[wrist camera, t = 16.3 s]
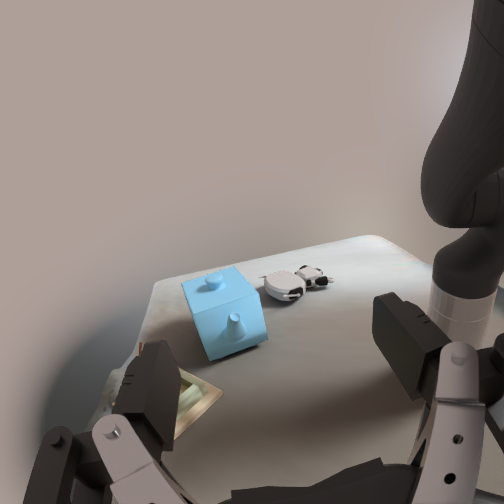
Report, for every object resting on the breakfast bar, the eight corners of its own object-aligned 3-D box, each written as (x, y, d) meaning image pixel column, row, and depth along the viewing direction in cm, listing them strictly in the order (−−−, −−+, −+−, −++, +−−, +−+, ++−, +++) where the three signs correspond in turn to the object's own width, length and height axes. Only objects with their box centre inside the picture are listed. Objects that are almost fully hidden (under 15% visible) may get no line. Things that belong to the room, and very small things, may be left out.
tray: (169, 364, 50) (163, 351, 49) (223, 393, 42) (217, 379, 41) (114, 407, 40) (105, 394, 39) (161, 451, 32) (151, 438, 31)
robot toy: (308, 274, 76) (257, 291, 71) (307, 258, 75) (255, 274, 70) (337, 291, 66) (282, 312, 60) (337, 273, 64) (281, 294, 59)
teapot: (194, 324, 62) (176, 269, 57) (241, 308, 65) (228, 252, 60) (221, 390, 43) (197, 324, 38) (284, 366, 46) (272, 297, 41)
